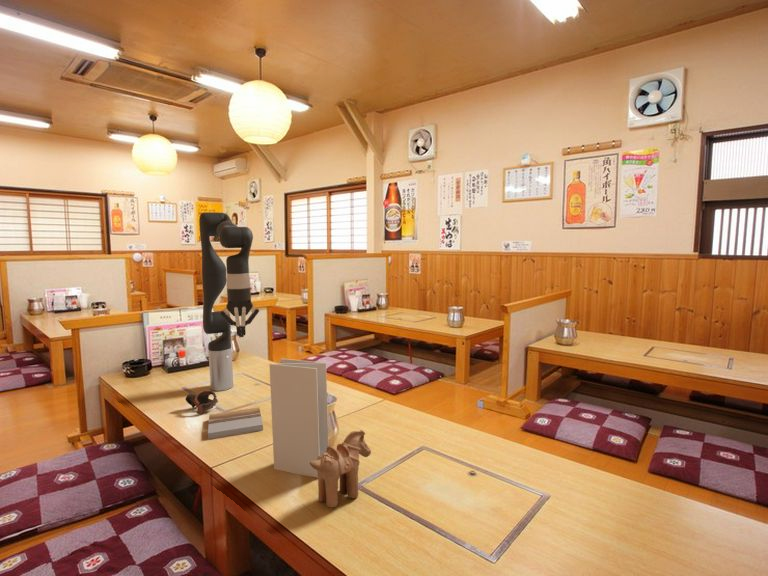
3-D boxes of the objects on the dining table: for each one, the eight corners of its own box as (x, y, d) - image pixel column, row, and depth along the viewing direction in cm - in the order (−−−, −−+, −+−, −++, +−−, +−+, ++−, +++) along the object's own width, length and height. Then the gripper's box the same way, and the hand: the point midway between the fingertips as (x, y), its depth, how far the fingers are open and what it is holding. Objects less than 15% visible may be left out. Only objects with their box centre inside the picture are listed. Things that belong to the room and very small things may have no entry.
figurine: (379, 487, 108) (378, 431, 106) (321, 517, 96) (319, 455, 94) (361, 475, 113) (360, 422, 111) (304, 503, 102) (302, 444, 100)
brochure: (329, 467, 117) (326, 362, 114) (320, 478, 112) (316, 368, 109) (285, 459, 122) (280, 358, 119) (274, 469, 117) (269, 364, 113)
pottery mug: (220, 404, 165) (222, 390, 161) (211, 423, 157) (212, 409, 153) (189, 398, 164) (189, 383, 159) (178, 417, 156) (178, 402, 151)
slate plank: (208, 429, 141) (208, 424, 141) (261, 421, 147) (261, 416, 147) (208, 439, 135) (207, 433, 135) (263, 430, 141) (262, 424, 141)
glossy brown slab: (209, 420, 149) (209, 413, 149) (259, 412, 155) (259, 406, 155) (209, 429, 142) (208, 422, 142) (261, 420, 148) (260, 414, 148)
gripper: (258, 284, 148) (260, 332, 150) (217, 286, 143) (220, 336, 145) (259, 286, 141) (262, 337, 143) (217, 288, 136) (220, 341, 138)
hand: (241, 336), depth 144 cm, fingers closed
